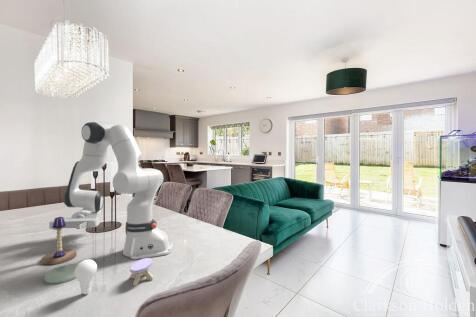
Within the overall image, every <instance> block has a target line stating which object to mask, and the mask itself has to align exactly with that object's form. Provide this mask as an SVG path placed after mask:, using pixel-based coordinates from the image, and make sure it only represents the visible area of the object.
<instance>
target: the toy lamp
mask: <svg viewBox="0 0 476 317" xmlns="http://www.w3.org/2000/svg"><path fill="white" fill-rule="evenodd" d="M64 218H65V217H64V216H57V217H55V218H54V219H53V220H54V223H53V226H52V228H57V230H56V251H55V252H56V253H55V254H54V255H53V258H59V257H62V256H64V255H66V254H65V252H64V251H62V250H63V241H62V239H63V238H62V236H63V235H62V233H63V232H62V227H65V226H66V223H65V220H64Z"/></svg>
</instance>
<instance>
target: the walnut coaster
mask: <svg viewBox="0 0 476 317" xmlns="http://www.w3.org/2000/svg"><path fill="white" fill-rule="evenodd" d="M62 251H64V252H65V254H66V255H64V256H62V257H59V258H53V255H54V254H55V253H56V252H57V251H54V252H50V253H49V254H46V255H44V256H42V258H41V259H40V263H41V265H43V266H53V265H56V266H57V265H60V264H64V263H67V262H69V261H72V260H73V259H76V257H77V251H76V250H74V249H65V250H64V249H62Z"/></svg>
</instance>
